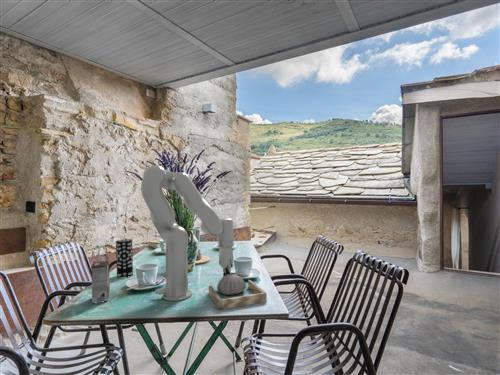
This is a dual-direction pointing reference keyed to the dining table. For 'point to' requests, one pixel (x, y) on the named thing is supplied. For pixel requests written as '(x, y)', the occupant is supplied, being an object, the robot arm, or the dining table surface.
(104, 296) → the coffee box
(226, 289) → the sea urchin shell
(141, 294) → the dining table surface
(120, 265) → the white-spotted black cylinder
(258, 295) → the box
